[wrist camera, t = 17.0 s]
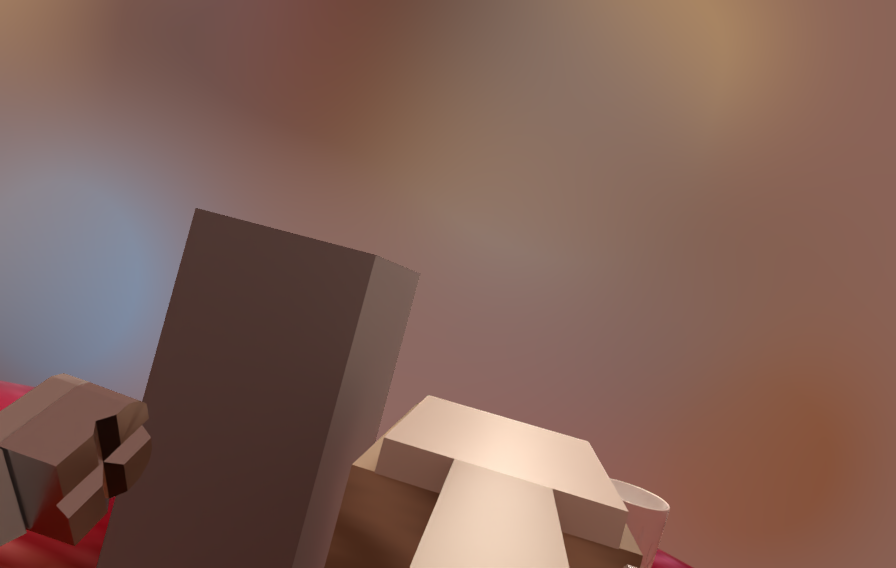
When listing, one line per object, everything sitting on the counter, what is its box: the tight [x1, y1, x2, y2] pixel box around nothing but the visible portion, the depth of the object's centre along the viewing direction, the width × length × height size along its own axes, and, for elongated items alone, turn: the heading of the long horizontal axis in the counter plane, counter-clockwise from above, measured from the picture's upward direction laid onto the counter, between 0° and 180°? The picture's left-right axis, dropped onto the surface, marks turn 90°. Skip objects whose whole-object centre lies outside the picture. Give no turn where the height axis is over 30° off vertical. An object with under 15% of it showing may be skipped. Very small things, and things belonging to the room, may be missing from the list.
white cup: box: [610, 479, 670, 568], centre depth 58 cm, size 8×8×10 cm
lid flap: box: [374, 395, 629, 568], centre depth 22 cm, size 10×25×2 cm, turn 173°
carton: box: [96, 208, 420, 568], centre depth 42 cm, size 12×16×26 cm
